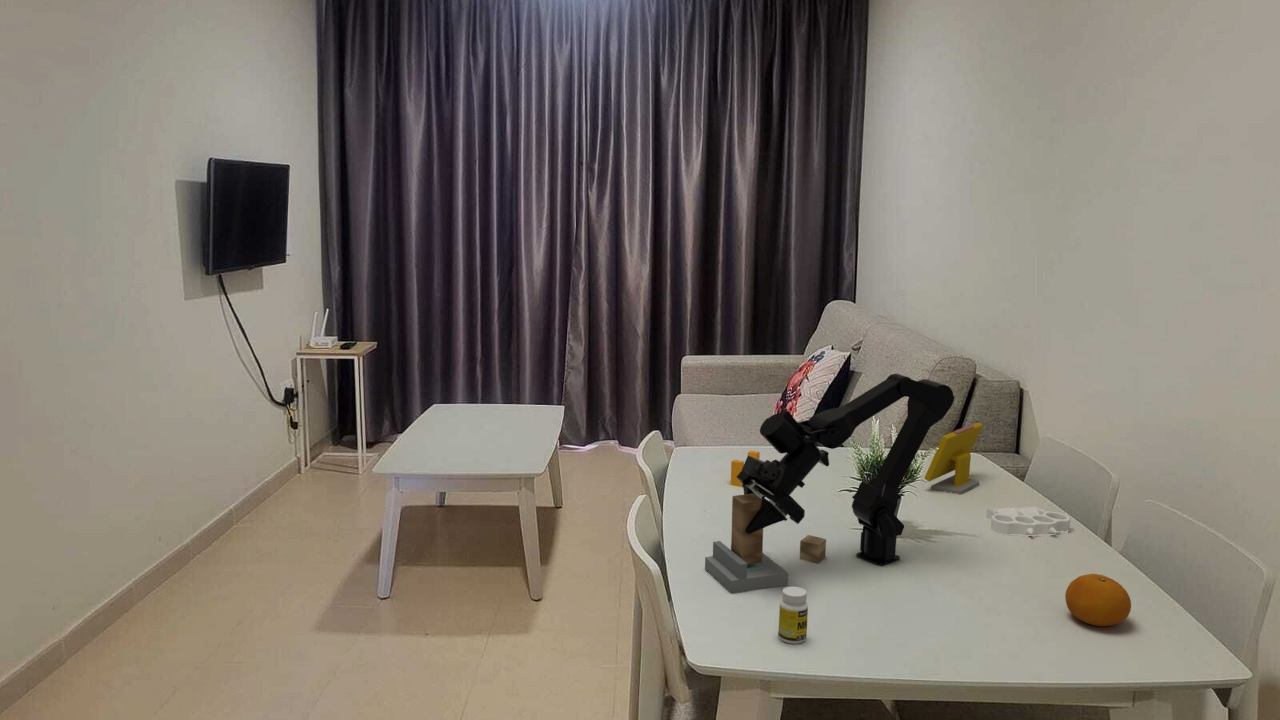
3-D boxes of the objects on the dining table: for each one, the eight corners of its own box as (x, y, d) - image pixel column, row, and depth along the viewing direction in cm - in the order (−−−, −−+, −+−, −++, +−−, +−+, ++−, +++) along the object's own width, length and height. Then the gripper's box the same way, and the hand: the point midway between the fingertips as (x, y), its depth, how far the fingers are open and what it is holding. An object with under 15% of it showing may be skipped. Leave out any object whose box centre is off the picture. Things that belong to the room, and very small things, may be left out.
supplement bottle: (799, 647, 153) (802, 599, 152) (773, 639, 156) (775, 593, 154) (810, 635, 157) (813, 589, 156) (785, 628, 160) (787, 583, 158)
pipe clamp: (746, 488, 236) (746, 464, 235) (730, 485, 238) (731, 461, 237) (764, 476, 246) (765, 453, 245) (749, 473, 248) (750, 450, 247)
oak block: (825, 557, 192) (826, 539, 191) (817, 563, 188) (818, 544, 188) (807, 553, 194) (808, 534, 193) (799, 559, 191) (800, 540, 190)
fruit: (1143, 631, 161) (1148, 587, 159) (1089, 636, 159) (1094, 592, 157) (1101, 605, 171) (1106, 564, 169) (1051, 609, 169) (1055, 568, 167)
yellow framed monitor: (958, 475, 249) (963, 418, 246) (987, 481, 243) (992, 423, 241) (923, 491, 235) (927, 431, 232) (952, 498, 229) (957, 437, 226)
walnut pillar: (751, 553, 183) (753, 493, 181) (762, 562, 179) (764, 500, 177) (730, 556, 182) (732, 495, 180) (741, 565, 178) (742, 503, 175)
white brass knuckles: (1044, 516, 219) (1081, 539, 205) (972, 519, 216) (1005, 542, 202) (1045, 502, 218) (1083, 524, 204) (973, 505, 216) (1007, 528, 201)
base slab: (758, 561, 189) (759, 535, 188) (787, 584, 178) (788, 557, 177) (704, 569, 185) (705, 542, 184) (731, 593, 174) (732, 565, 173)
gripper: (746, 430, 186) (695, 488, 185) (792, 455, 169) (736, 519, 167) (780, 464, 190) (730, 521, 189) (828, 491, 173) (773, 555, 171)
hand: (741, 528), depth 179 cm, fingers closed on walnut pillar, 4 cm apart
